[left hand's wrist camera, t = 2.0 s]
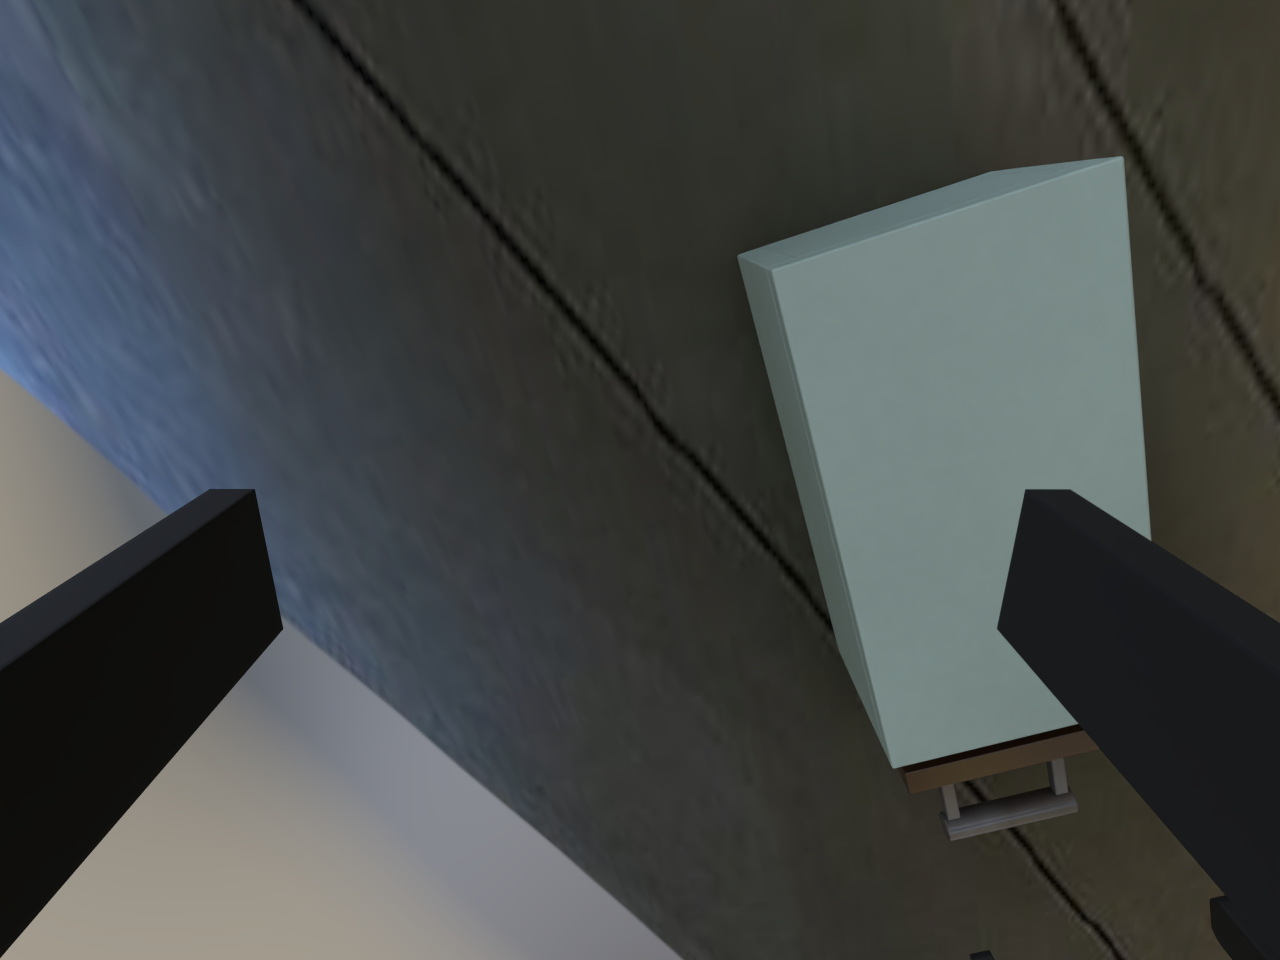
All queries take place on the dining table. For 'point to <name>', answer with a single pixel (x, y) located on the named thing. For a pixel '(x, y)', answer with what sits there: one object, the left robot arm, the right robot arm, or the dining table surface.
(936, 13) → the dining table surface
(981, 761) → the drawer
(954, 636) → the cabinet
